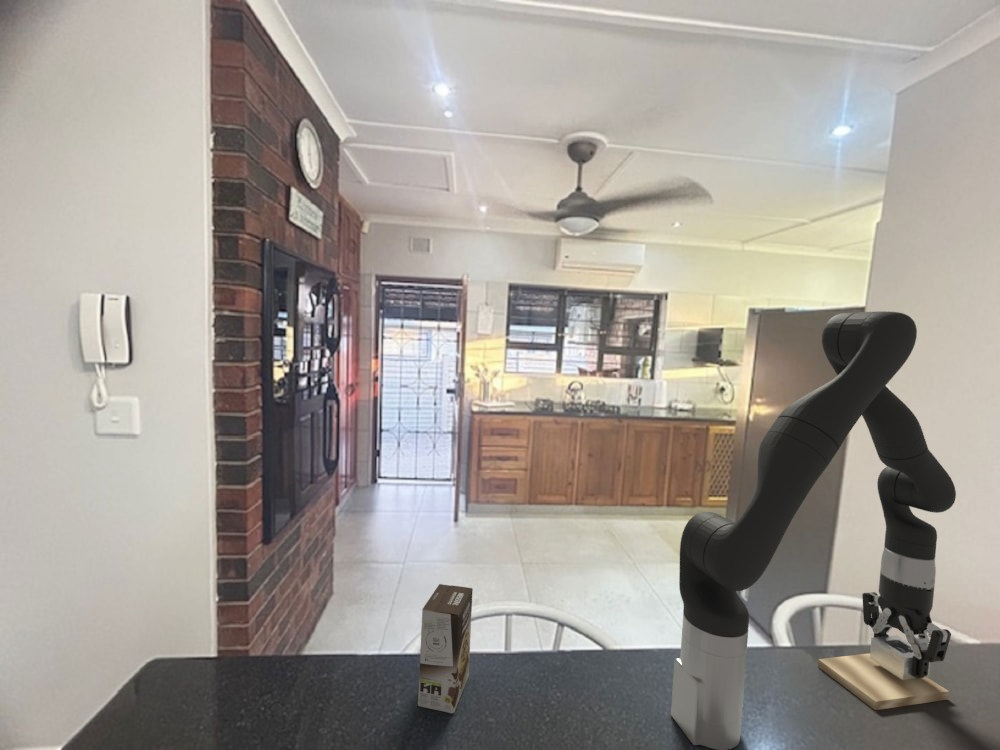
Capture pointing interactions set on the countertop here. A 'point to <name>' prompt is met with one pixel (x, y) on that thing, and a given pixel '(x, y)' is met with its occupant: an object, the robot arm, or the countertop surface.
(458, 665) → the coffee box
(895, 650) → the steel link
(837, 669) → the plate
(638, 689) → the countertop surface
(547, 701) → the countertop surface
